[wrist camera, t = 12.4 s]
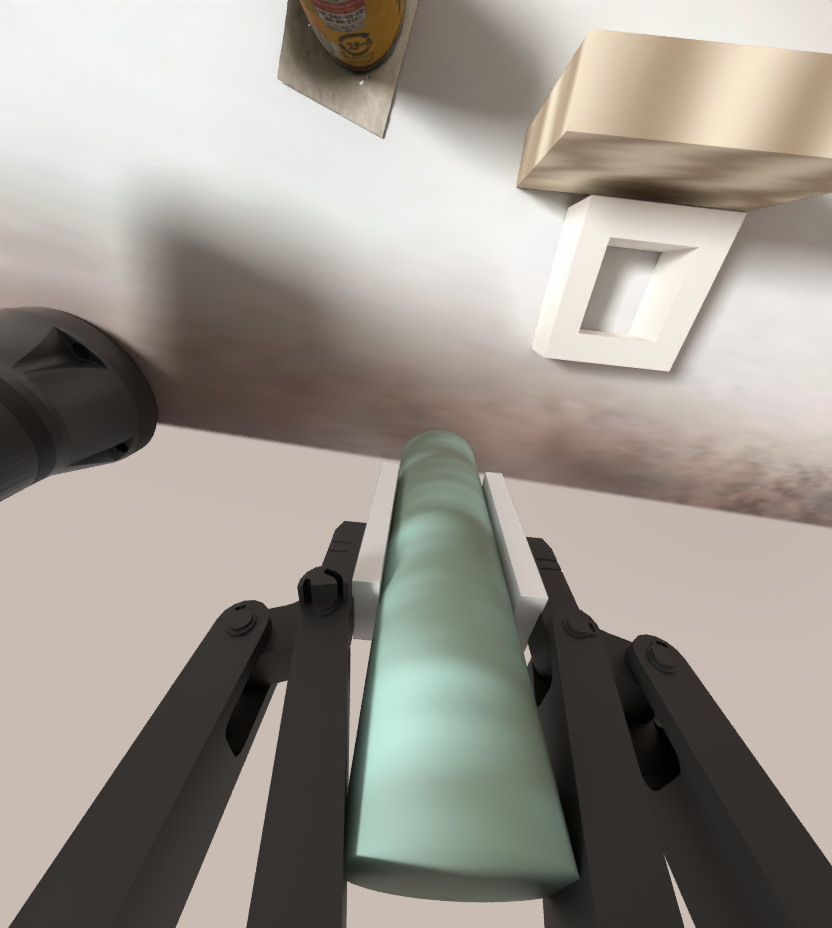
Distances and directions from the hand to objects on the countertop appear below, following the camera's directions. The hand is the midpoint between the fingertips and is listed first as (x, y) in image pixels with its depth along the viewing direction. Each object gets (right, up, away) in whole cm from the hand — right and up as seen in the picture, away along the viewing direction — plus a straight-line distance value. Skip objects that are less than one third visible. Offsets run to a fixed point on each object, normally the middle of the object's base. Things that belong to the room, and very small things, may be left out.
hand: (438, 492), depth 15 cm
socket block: (+15, +16, +11) cm, 24 cm away
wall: (+15, +22, +7) cm, 28 cm away
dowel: (0, +1, +2) cm, 3 cm away
